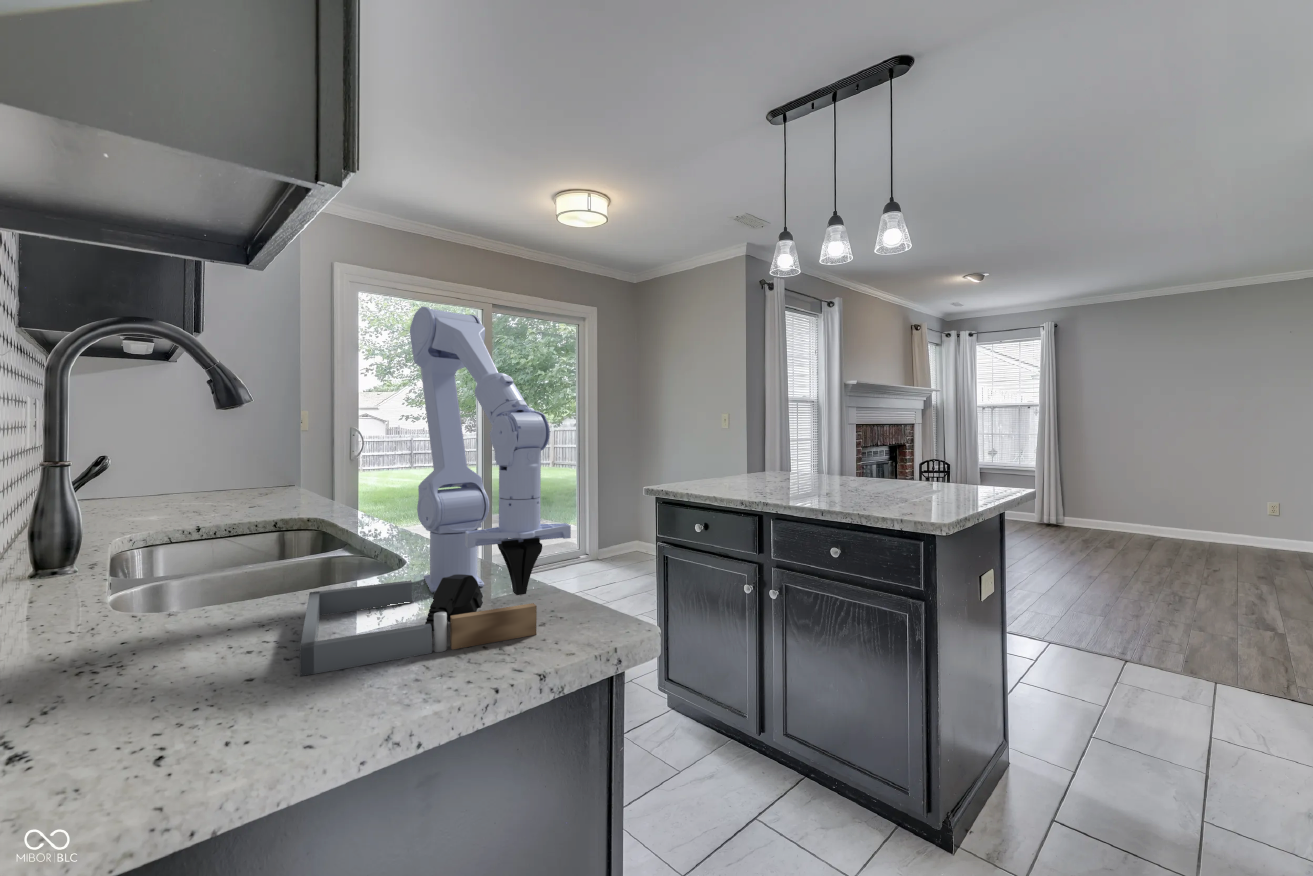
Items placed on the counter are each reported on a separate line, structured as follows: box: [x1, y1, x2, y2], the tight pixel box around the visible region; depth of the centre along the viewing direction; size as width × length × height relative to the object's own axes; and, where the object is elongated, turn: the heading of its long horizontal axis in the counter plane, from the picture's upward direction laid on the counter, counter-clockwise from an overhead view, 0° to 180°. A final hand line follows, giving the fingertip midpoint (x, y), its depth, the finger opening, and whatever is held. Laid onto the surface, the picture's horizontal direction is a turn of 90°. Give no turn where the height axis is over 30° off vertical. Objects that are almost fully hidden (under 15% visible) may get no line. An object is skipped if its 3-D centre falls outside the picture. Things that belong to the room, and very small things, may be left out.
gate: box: [449, 602, 538, 650], centre depth 69 cm, size 10×1×4 cm, turn 119°
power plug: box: [424, 574, 484, 633], centre depth 72 cm, size 6×8×12 cm
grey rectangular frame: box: [299, 580, 448, 677], centre depth 71 cm, size 21×14×4 cm
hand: (519, 592), depth 80 cm, fingers closed
